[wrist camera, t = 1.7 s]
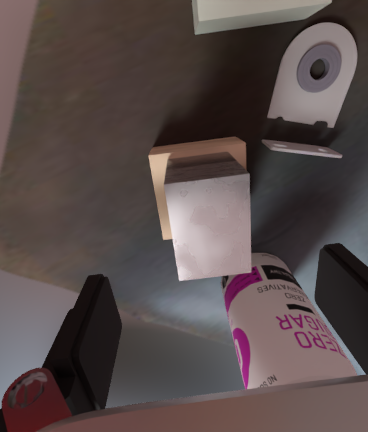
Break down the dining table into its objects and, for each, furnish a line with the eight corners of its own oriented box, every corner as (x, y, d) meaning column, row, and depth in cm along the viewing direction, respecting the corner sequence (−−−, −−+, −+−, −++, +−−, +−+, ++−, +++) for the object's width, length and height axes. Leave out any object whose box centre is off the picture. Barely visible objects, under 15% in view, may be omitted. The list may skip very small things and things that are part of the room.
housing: (231, 226, 24) (251, 272, 18) (178, 233, 24) (179, 280, 18) (227, 151, 21) (249, 173, 15) (167, 159, 21) (163, 184, 15)
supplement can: (224, 308, 34) (257, 452, 20) (215, 255, 30) (248, 384, 17) (287, 298, 33) (365, 437, 20) (285, 243, 30) (378, 365, 16)
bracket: (363, 31, 22) (394, 20, 19) (323, 151, 26) (343, 158, 23) (288, 19, 21) (307, 6, 18) (259, 143, 26) (271, 150, 22)
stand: (238, 212, 28) (247, 229, 24) (165, 221, 28) (163, 239, 25) (235, 136, 25) (245, 142, 21) (152, 147, 25) (148, 155, 21)
